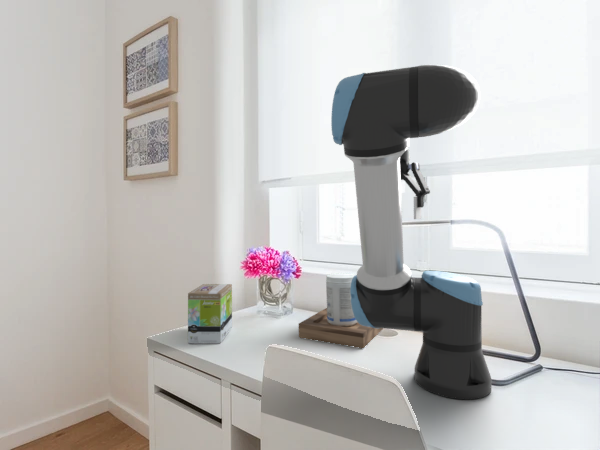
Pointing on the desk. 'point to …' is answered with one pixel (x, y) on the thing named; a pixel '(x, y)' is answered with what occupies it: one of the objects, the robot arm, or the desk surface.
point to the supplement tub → (339, 299)
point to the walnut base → (336, 331)
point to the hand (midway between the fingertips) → (397, 219)
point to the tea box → (209, 313)
